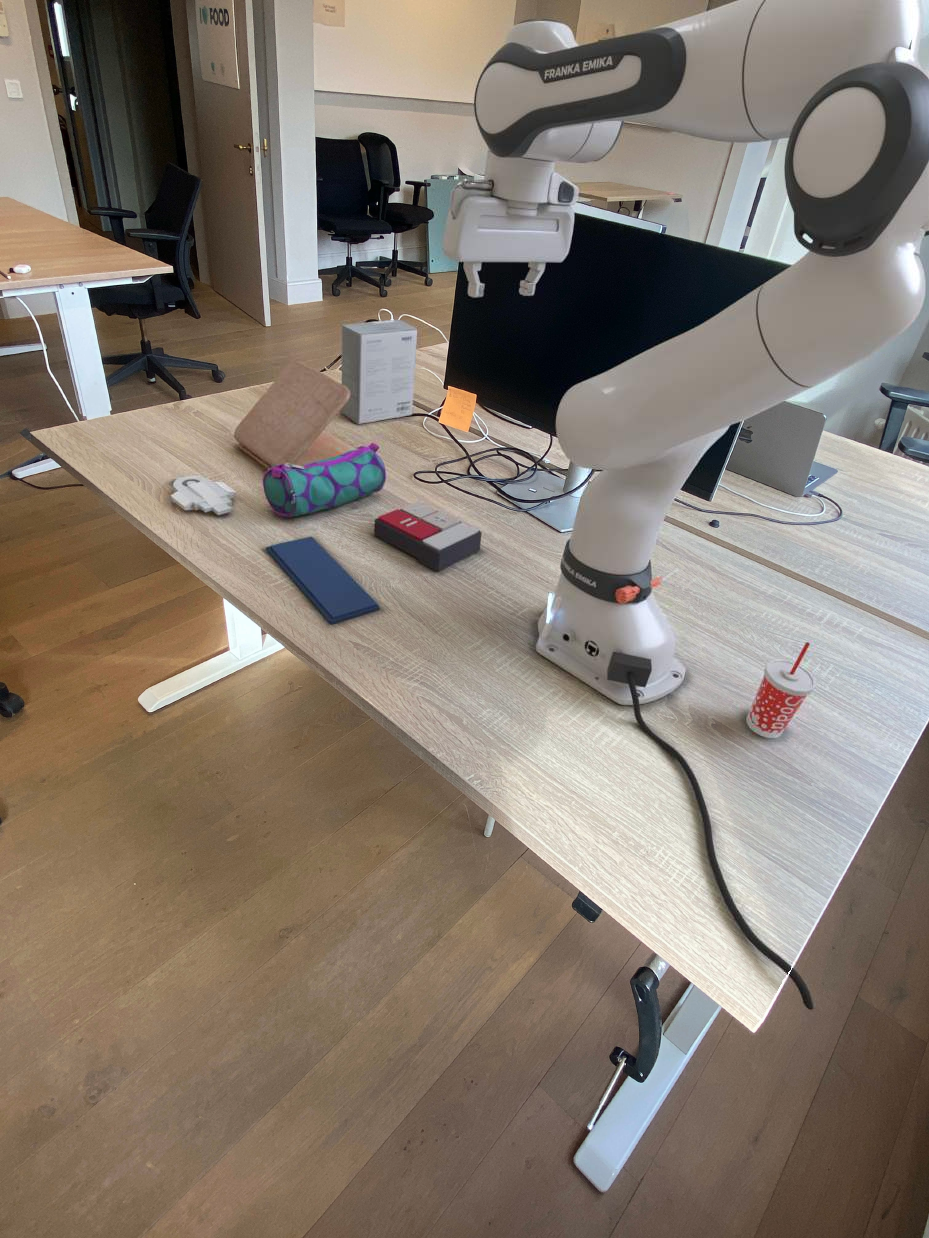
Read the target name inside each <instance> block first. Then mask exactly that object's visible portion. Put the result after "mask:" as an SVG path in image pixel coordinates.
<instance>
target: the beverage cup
mask: <svg viewBox="0 0 929 1238" xmlns="http://www.w3.org/2000/svg"><path fill="white" fill-rule="evenodd" d="M810 645H811V643H810V642H809V641H806V642H805V643H804V645H803V647H802V649H801V650H800V653H799V654H798V657H797V659H795V660H796V661H791V660H789V659H783V658H775V659H772V660H770V661H768V662H767V663H766V664H765V668H764V670H763V671H764V672H763V677H762V679H761V682H760V684H759V687H758V689H757V691H756V694H755V696H754V699H753V701H752V703H751V707H750V709H749V711H748V714H747V716H746V724H747V726H748V728H749V729H750V730H751V731H752V732H754V733H755V734H757V735H759V736H760V737H763V738H765V739H776V738H779V737H780V736H781V735H782V734H783V732H784V731H785V729H786V728H787V726H788V725H789V723H790V722H791V720H792V719H793V717H794V716H795V714H796V713H797V711H798V710H799V709H800V707H801V705H802V704H803V702H804V701H805V699H806V698H807V697H808V696H810V695H811V694H812V692H814V689H816V687H817V679H816V677H815V676H814V674H813V673H812V672H811V671H809V669H807V668H806V667H805V666H803V665H800V664H801V662H802V660H803V658H804V656H805V655H806V653H807V650H808V649H809V647H810Z"/></svg>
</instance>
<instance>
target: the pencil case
mask: <svg viewBox="0 0 929 1238" xmlns="http://www.w3.org/2000/svg"><path fill="white" fill-rule="evenodd" d="M356 448H357V449H356V450H352V451H348V452H346V453H344V454H342V455H338V456H335V457H332V458H328V459H324V460H321V461H317V462H314V463H311V464H309V465H304V466H299V465H293V464H290V463H285V464H276V465H274V466H273V467H271V468H270V469H267V470H266V471H265V473H264V475H263V477H262V487H263V488H262V489H263V492H264V495H265V498H266V500H267V503H268V505H269V507H270V508H271V509H272V510H273V512H275V514H277V516H279V517H282V518H294V517H297V516H304V515H311V514H315V513H318V512H321V511H326V510H329V509H333V508H336V507H340V506H342V505H344V504H348V503H351V502H353V501H357V500H358V499H362V498H364V497H367V496H370V495H372V494H375V493H379V492H380V491H381V490H382V489H383V488H384V486H385V483H386V479H387V472H386V471H387V469H386V467H385V463H384V461H383V459H382V458H381V456H380V455H379V454H377V452H378V451H379V449H380V446H379V445H378V444H376V443H375V442H371V443H370V444H369V445H368V446H365V445H361V446H358V447H356ZM288 464H289V465H288Z"/></svg>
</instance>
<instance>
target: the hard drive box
mask: <svg viewBox="0 0 929 1238" xmlns="http://www.w3.org/2000/svg"><path fill="white" fill-rule="evenodd" d="M418 330H419V329H418V328H417V327H416V326H414V325H412V324H409V323H407V322H405V321H403V320H401V319H389V320H377V321H369V322H357V323H348V324H341V384H342V385H344V386H346V387H347V388H348V389H349V391H350V398H349V400H348V402H347V403H346V404H345V406H344V407H343V408H342V409H341V414H342V415H343V416H345V417H346V418H348V419H349V420H351V421H352V422H354V423H355V424H357V425H362V424H367V423H375V422H378V421H379V422H380V421H383V420H384V421H385V420H389V419H398V418H403V417H407V416H412V415H413V407H414V406H413V405H414V392H415V391H414V390H415V389H414V388H415V376H416V375H415V373H416V361H417V348H418V347H417V343H418V332H419V331H418Z"/></svg>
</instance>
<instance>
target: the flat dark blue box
mask: <svg viewBox="0 0 929 1238" xmlns="http://www.w3.org/2000/svg"><path fill="white" fill-rule="evenodd" d="M265 551H266V552H267V553H268V554H269V555H270V556H271V558H272V560H274V561H275V562H276V564H278V566H279V567H280V568H281V569H282V571H284V573H285V574H286V575H287V576H288V577H289V578H290V580H291V581H292V582H293V583H294V585H295V586H296V587H297V588H298V589H299V590H300V591H301V592H302V593H303V594H304V596H305V597H306V598H307V599H308V600H309V602H310V603H311V605H313V606H314V607H315V608H316V609H317V611H318V612H319V613H320V614H321V615H322V616H323V617H324V619H325V620H326V621H327V622H328V624H329V625H333V624H337V623H341V622H343V621H346V620H349V619H353V618H357V617H360V616H363V615H366V614H369V613H373V612H375V611H376V612H377V611H379V610H380V608H381V607H380V605H379V604H378V603H377V602H376V601H375V599H373V598H372V597H371V596H370V594H369V593H367V591H365V590H364V588H363V587H361V585H360V584H359V583H358V582H357V581H356V580H355V579H354V578H353V577H352V576H351V575H350V574H349V573H348V572H347V571H346V570H345V569H344V568H343V567H342V566H341V565H340V564H339V563H338V562H337V561H336V560H335V558H334V557H332V556H331V554H330V553H328V551H327V550H326V549H325V548H324V547H323V546H322V545H320V543H319V542H318V541H317V540H316V539H315V538H314V537H313V536H307V537H302V538H298V539H294V540H290V541H284V542H280V543H276V544H271V545H269V546H267V547H265Z"/></svg>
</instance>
